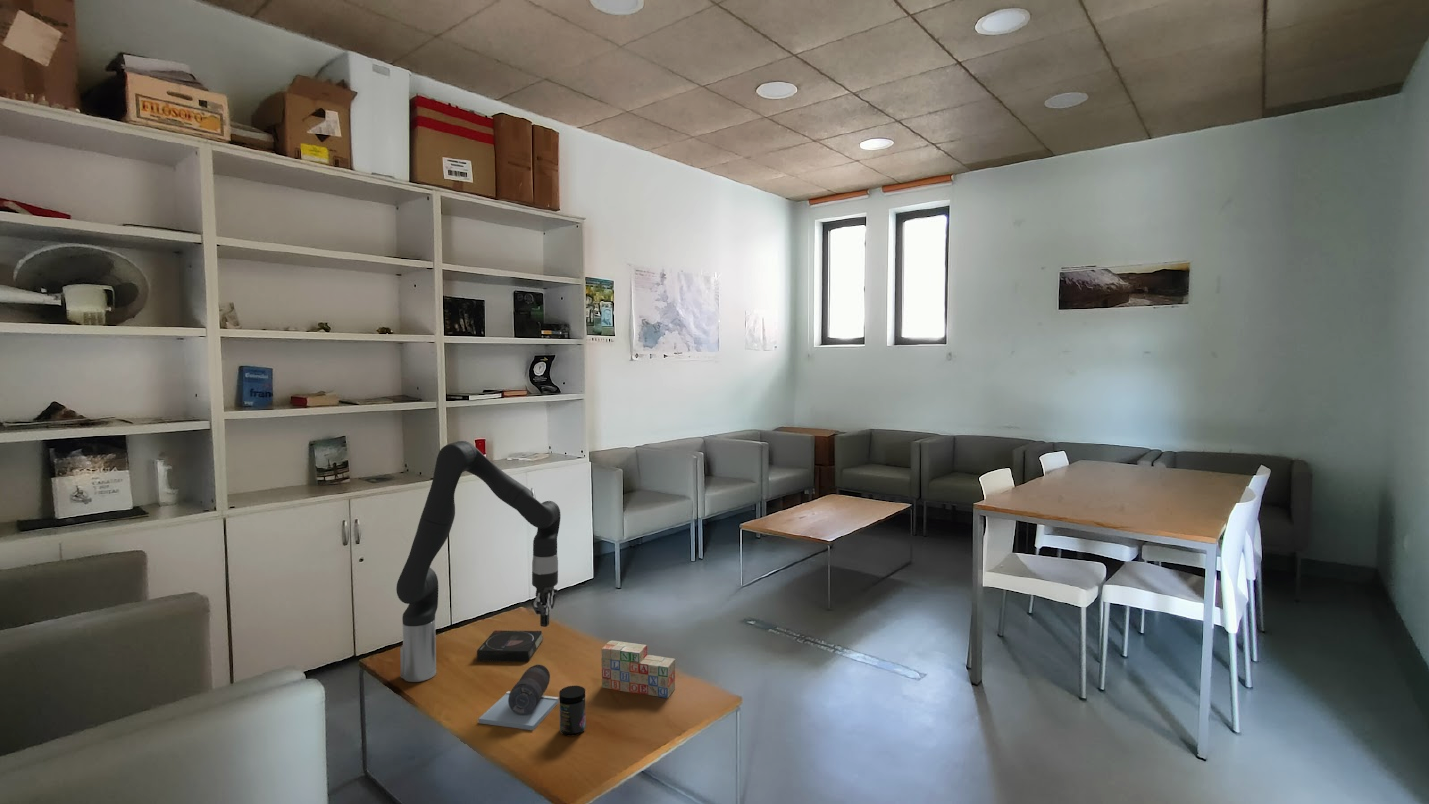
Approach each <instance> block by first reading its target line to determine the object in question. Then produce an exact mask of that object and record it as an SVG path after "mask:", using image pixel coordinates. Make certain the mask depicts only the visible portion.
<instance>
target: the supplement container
mask: <svg viewBox="0 0 1429 804" xmlns="http://www.w3.org/2000/svg"><path fill="white" fill-rule="evenodd" d="M558 695H559V696H558V697H559V703H558V704H559V732H560V733H561V734H562V735H563V736H567V737H574V736H578V735H580V734H582V733H583V732H584V731H585V729H586V688H585V687H583V686H581V685H569V686H565V687H563V688H561V689H560V690H559V694H558Z"/></svg>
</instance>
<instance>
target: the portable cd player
mask: <svg viewBox="0 0 1429 804" xmlns="http://www.w3.org/2000/svg"><path fill="white" fill-rule="evenodd" d="M543 640H544V635H543V632H542V630H493V631H492V633H491V634H490V635H489V636H488V637H487V638H486V639H485V640H484V642H483V643H482V644H481V646H479V648H478V649H477V650H476V661H477V662H506V663H507V662H508V663H509V662H511V663H512V662H516V663H517V662H519V663H521V662H522V663H523V662H525V663H528V662H530V661H531V659H532V657H533V655H534V654H535V652H536V651H537V650H538V648H539V647H540V645H541V644H542V642H543Z"/></svg>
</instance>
